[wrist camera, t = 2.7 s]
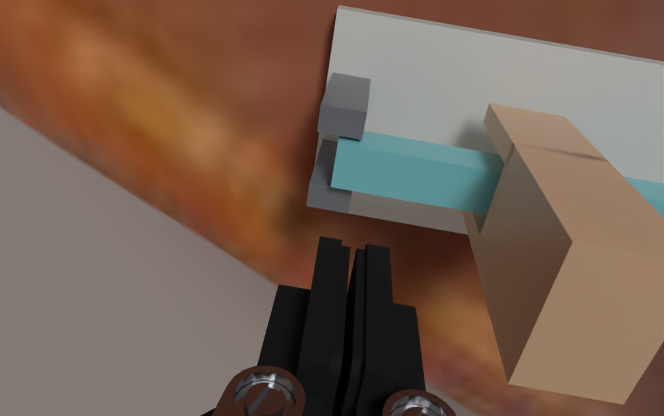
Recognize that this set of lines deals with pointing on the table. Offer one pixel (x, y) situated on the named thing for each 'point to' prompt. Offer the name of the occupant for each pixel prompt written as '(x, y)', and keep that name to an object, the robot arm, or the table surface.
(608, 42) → the table surface
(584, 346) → the tan slotted box
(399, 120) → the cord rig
